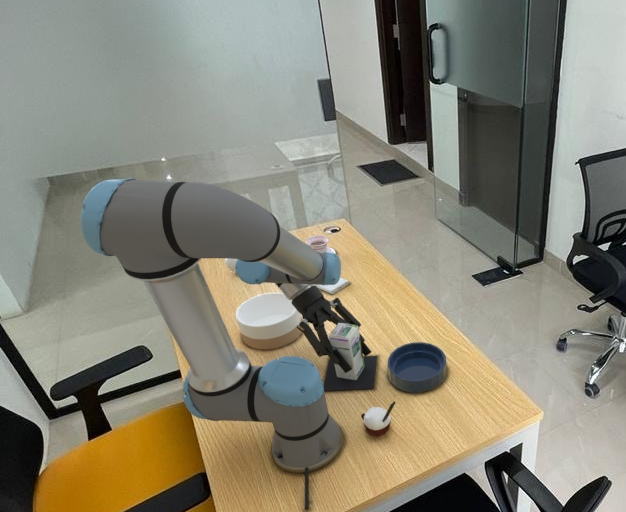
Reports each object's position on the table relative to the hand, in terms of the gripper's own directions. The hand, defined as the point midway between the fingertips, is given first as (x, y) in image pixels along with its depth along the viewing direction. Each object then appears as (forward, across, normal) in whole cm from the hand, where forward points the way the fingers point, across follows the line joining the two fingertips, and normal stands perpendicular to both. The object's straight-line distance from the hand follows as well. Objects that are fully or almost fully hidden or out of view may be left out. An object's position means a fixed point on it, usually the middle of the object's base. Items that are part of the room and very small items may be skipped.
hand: (358, 362), depth 130 cm
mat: (+1, 0, +6) cm, 7 cm away
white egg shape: (-50, +20, +52) cm, 75 cm away
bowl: (-21, +2, +29) cm, 36 cm away
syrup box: (+1, 0, +6) cm, 6 cm away
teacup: (-36, +43, +44) cm, 72 cm away
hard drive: (-24, +30, +33) cm, 51 cm away
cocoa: (+15, -12, -7) cm, 21 cm away
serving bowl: (+12, +9, -4) cm, 16 cm away
